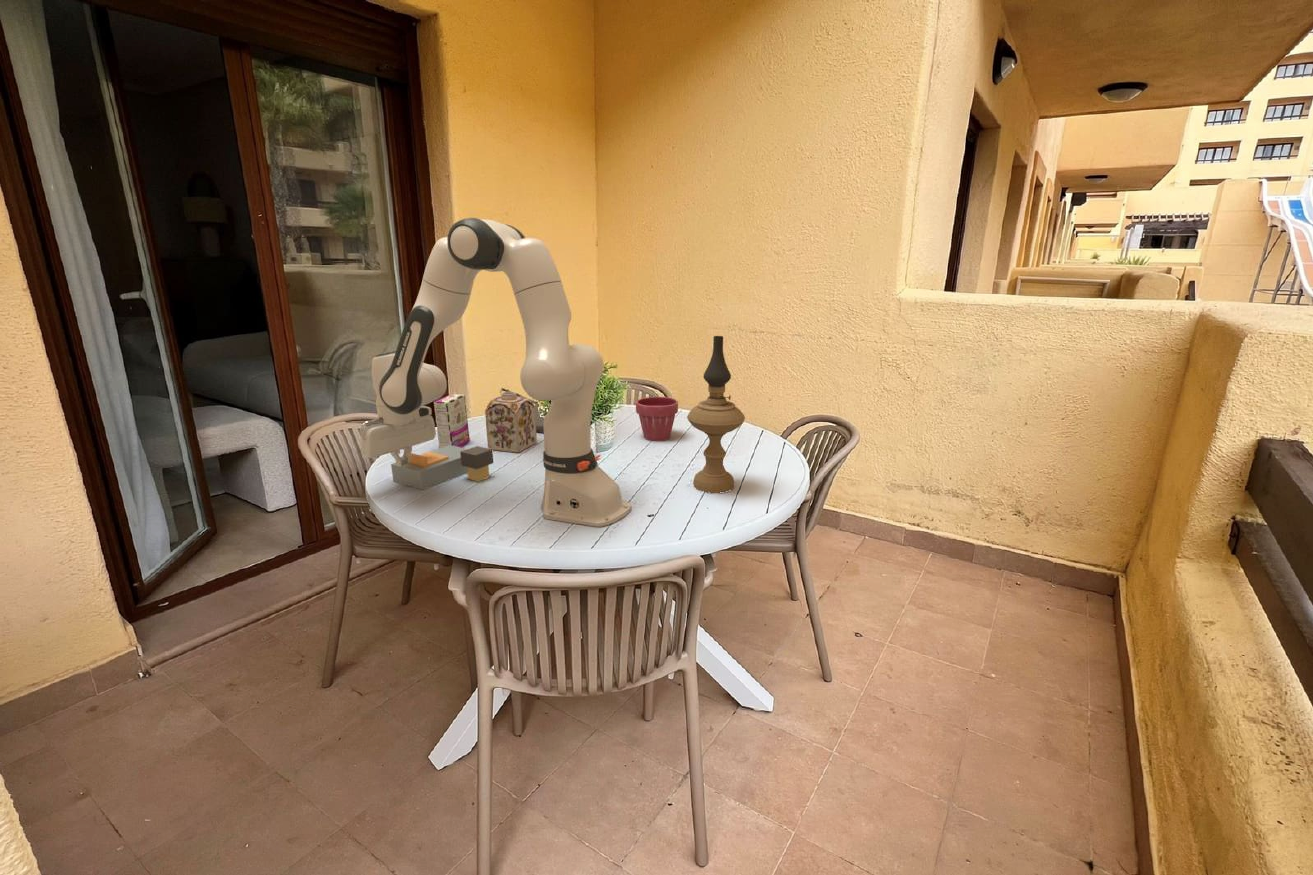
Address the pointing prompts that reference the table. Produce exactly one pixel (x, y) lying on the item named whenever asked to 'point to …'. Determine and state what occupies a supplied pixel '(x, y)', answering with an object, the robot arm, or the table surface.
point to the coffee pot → (537, 417)
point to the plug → (477, 462)
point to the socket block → (431, 469)
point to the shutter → (426, 459)
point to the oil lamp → (715, 423)
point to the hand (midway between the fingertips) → (403, 464)
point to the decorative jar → (510, 423)
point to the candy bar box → (452, 421)
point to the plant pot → (657, 416)
